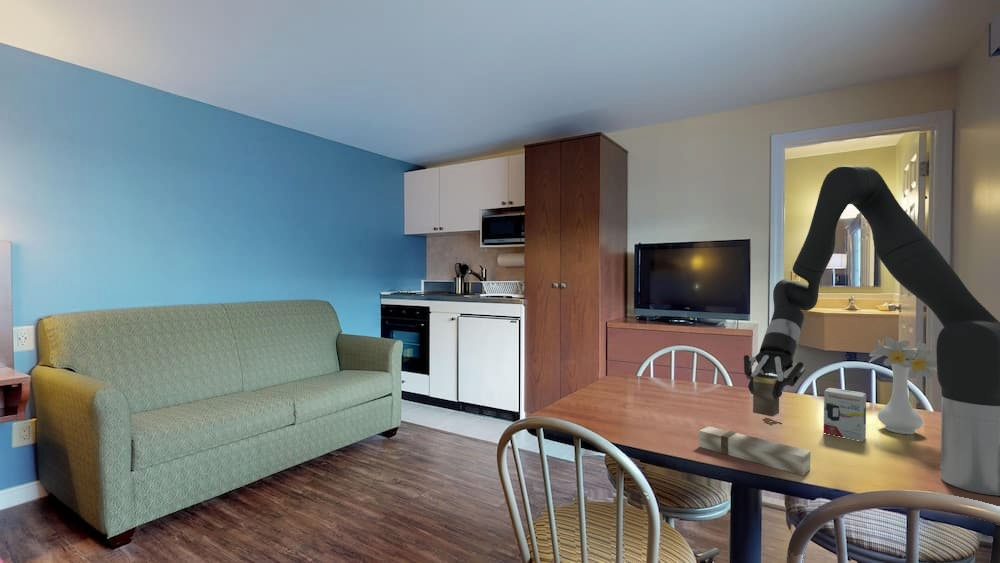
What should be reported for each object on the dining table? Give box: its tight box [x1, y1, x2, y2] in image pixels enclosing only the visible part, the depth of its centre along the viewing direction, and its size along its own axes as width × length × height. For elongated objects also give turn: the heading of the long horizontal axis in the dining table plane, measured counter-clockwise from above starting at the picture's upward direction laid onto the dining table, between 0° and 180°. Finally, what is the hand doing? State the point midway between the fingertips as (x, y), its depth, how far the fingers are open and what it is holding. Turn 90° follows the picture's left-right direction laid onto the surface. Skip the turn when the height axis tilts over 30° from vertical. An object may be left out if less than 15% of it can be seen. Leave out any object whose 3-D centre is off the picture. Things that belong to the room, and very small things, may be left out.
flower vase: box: [868, 336, 937, 435], centre depth 123 cm, size 13×18×25 cm
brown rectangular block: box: [752, 374, 780, 417], centre depth 112 cm, size 4×4×9 cm
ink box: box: [822, 387, 867, 442], centre depth 119 cm, size 9×5×12 cm, turn 44°
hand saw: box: [761, 417, 783, 426], centre depth 140 cm, size 24×5×1 cm, turn 12°
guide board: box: [698, 425, 811, 477], centre depth 105 cm, size 22×5×4 cm, turn 42°
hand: (763, 394), depth 110 cm, fingers closed on brown rectangular block, 4 cm apart
